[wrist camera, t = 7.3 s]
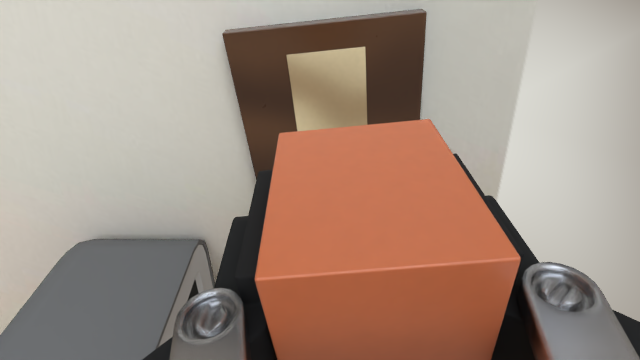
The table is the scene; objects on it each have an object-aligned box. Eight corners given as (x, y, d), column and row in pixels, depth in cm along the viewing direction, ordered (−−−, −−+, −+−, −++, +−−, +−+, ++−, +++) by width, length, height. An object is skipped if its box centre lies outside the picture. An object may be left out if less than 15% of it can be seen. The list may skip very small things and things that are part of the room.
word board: (225, 29, 22) (221, 33, 21) (422, 8, 22) (427, 11, 21) (281, 274, 34) (280, 283, 34) (408, 264, 34) (410, 273, 33)
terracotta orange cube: (278, 132, 10) (252, 279, 5) (430, 117, 10) (523, 258, 5) (301, 264, 12) (296, 429, 8) (419, 255, 12) (474, 417, 8)
